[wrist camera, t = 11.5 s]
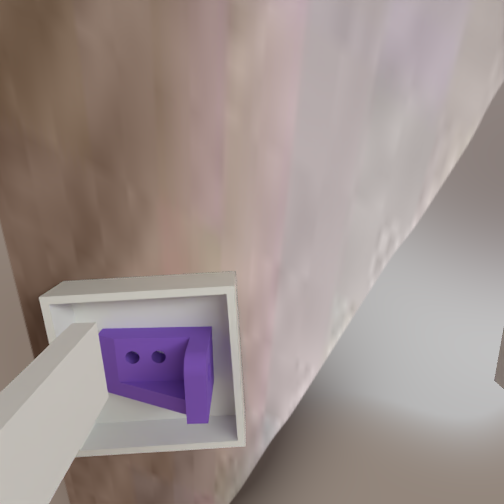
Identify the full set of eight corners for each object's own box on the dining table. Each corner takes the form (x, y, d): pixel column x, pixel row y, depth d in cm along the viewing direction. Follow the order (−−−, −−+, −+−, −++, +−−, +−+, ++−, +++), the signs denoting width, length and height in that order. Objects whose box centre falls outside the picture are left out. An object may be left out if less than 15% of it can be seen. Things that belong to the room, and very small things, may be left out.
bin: (63, 281, 37) (38, 297, 33) (235, 271, 37) (234, 285, 33) (92, 425, 42) (74, 457, 37) (245, 416, 42) (245, 446, 38)
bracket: (211, 326, 38) (205, 360, 32) (214, 380, 40) (208, 423, 33) (102, 328, 38) (73, 363, 31) (109, 382, 40) (83, 426, 33)
